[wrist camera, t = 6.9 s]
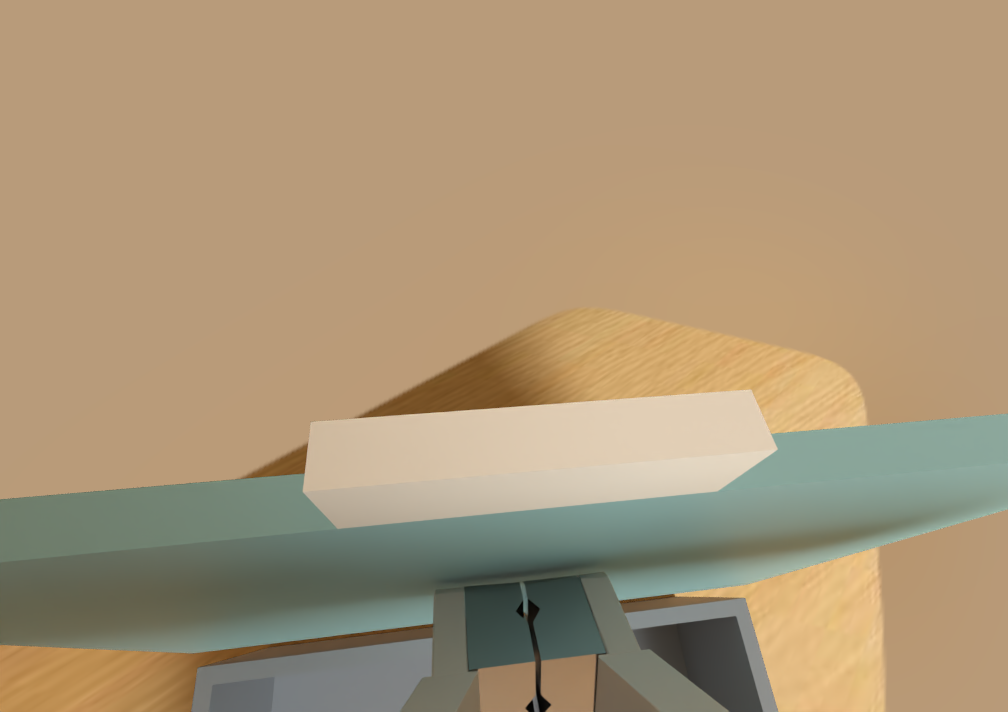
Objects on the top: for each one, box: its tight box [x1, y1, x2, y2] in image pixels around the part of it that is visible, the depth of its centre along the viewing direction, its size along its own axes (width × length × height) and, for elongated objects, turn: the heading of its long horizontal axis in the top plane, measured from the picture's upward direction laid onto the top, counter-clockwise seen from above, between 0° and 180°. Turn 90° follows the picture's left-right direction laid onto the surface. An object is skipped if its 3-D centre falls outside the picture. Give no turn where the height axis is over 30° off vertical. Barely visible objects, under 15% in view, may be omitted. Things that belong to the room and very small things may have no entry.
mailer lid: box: [0, 390, 1008, 653], centre depth 10 cm, size 18×14×1 cm
